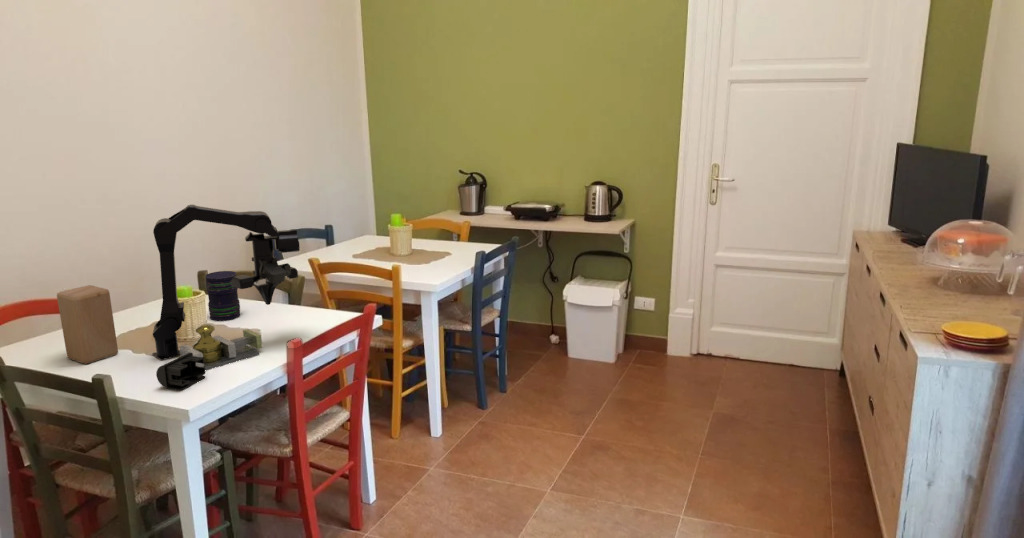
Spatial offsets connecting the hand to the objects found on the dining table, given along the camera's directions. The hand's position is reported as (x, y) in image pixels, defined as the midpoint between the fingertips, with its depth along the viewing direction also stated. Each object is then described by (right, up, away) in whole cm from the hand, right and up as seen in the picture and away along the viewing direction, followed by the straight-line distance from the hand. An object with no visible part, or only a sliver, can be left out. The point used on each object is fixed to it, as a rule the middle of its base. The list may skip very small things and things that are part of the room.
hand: (268, 304), depth 209 cm
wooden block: (-47, -15, -9) cm, 51 cm away
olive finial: (-12, -15, -13) cm, 23 cm away
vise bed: (-10, -15, -11) cm, 21 cm away
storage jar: (-24, -6, +27) cm, 36 cm away
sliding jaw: (-6, -13, -7) cm, 16 cm away
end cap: (-13, -20, -27) cm, 36 cm away
